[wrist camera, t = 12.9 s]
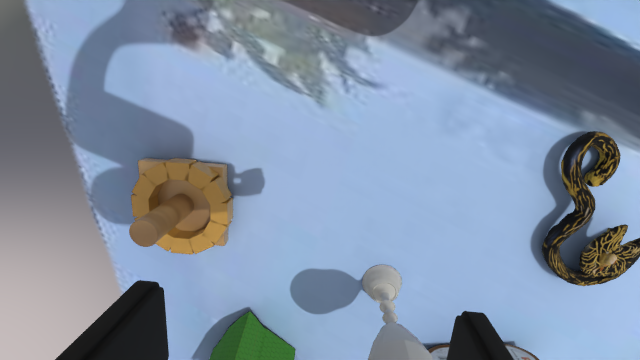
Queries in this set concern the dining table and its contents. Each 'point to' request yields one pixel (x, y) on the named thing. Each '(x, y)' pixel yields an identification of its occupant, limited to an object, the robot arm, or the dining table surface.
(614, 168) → the toy snake
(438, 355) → the tin
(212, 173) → the ring
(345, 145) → the dining table surface
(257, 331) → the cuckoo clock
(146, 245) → the stand
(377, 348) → the chalice
